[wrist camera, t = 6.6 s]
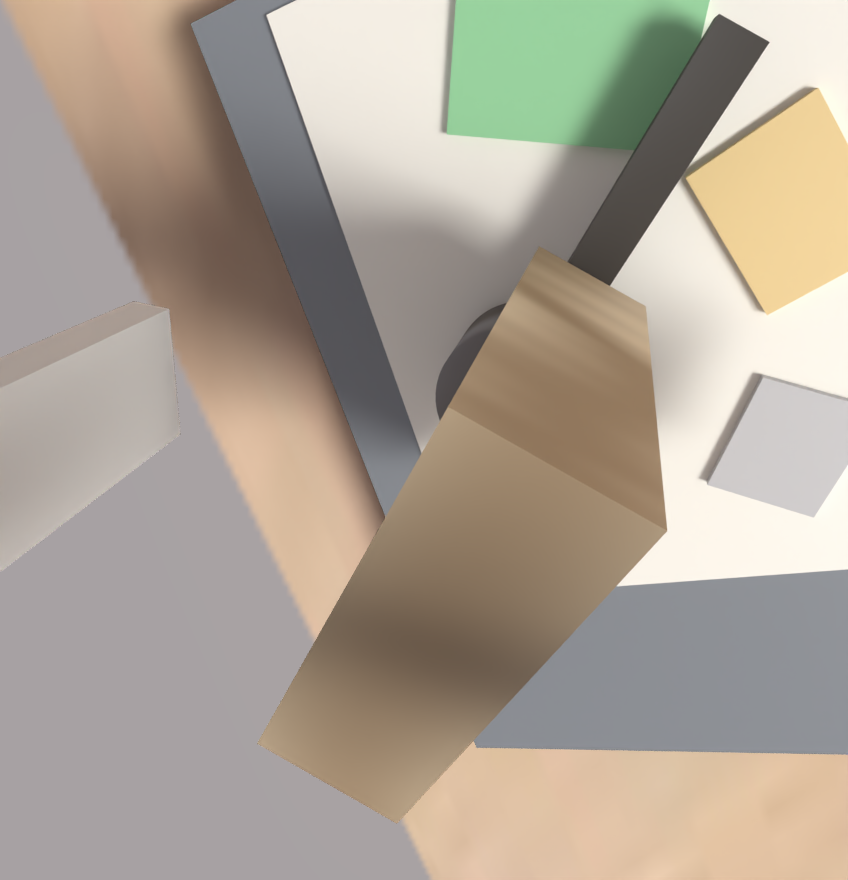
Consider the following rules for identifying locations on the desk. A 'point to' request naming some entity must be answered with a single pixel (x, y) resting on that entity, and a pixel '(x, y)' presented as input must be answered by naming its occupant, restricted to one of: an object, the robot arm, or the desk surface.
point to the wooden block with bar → (508, 494)
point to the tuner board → (641, 278)
